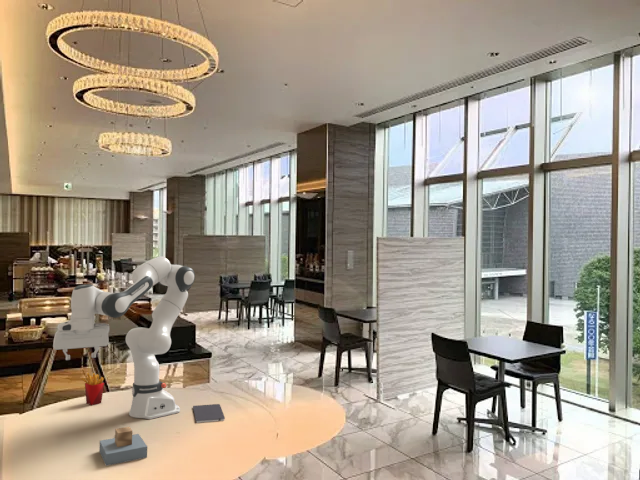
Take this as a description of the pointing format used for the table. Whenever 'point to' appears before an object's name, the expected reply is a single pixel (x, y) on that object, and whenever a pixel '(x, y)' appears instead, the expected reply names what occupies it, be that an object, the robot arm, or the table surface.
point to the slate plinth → (122, 450)
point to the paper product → (208, 413)
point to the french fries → (93, 389)
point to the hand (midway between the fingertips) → (80, 358)
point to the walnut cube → (123, 436)
